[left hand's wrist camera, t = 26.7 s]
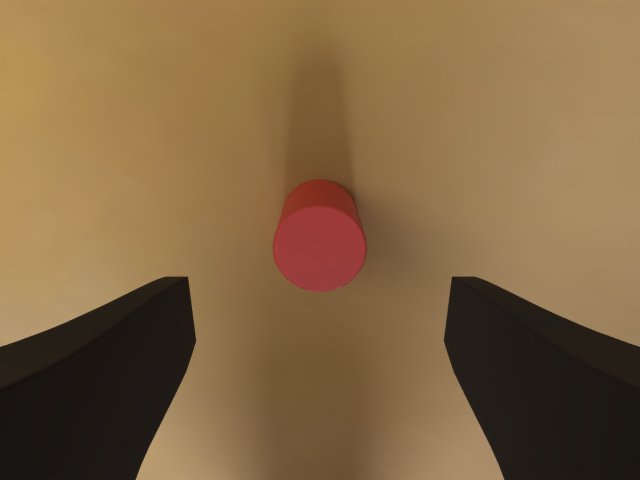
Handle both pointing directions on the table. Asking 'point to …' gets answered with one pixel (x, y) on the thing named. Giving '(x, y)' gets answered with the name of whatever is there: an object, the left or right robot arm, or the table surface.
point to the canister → (319, 237)
